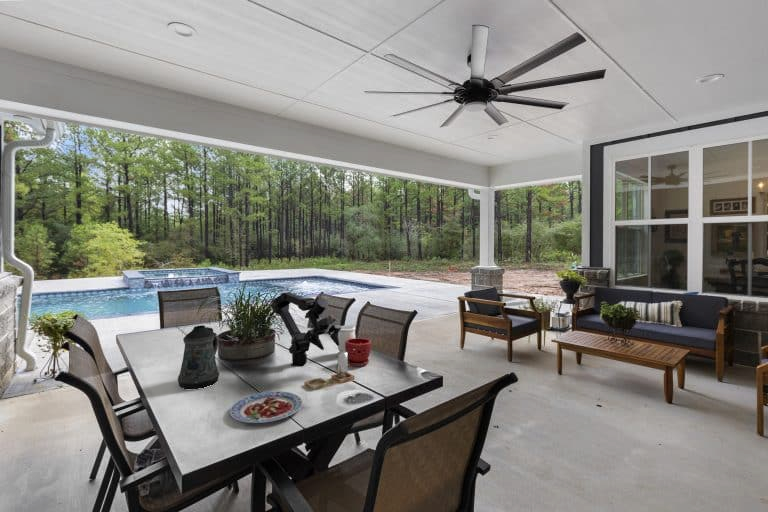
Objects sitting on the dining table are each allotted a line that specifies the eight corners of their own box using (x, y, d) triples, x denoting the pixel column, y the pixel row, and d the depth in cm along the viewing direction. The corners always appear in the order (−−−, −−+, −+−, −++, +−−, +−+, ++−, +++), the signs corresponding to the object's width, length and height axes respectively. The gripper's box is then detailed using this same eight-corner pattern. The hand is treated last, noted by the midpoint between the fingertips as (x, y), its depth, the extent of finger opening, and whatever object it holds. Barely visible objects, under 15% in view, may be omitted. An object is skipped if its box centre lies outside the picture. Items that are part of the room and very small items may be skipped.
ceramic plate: (276, 391, 159) (276, 384, 158) (316, 409, 142) (316, 401, 142) (216, 413, 139) (216, 405, 139) (254, 436, 122) (254, 427, 122)
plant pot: (367, 368, 185) (367, 344, 185) (342, 367, 188) (341, 343, 187) (373, 360, 198) (373, 337, 198) (349, 358, 201) (349, 336, 200)
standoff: (338, 381, 167) (338, 354, 167) (336, 378, 171) (336, 351, 171) (348, 380, 169) (348, 353, 168) (346, 376, 173) (346, 351, 172)
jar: (354, 357, 203) (354, 329, 203) (335, 357, 204) (335, 329, 203) (356, 351, 214) (356, 325, 213) (338, 351, 214) (338, 325, 213)
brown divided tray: (310, 392, 156) (310, 387, 156) (302, 386, 163) (302, 381, 163) (356, 381, 169) (356, 376, 169) (346, 375, 176) (346, 371, 176)
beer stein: (173, 392, 157) (171, 332, 156) (184, 376, 176) (183, 322, 175) (216, 388, 161) (215, 330, 160) (222, 372, 180) (221, 320, 179)
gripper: (307, 312, 171) (323, 341, 164) (338, 307, 185) (354, 334, 178) (297, 327, 176) (311, 355, 169) (328, 321, 190) (342, 347, 183)
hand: (331, 347), depth 175 cm, fingers open, 9 cm apart
